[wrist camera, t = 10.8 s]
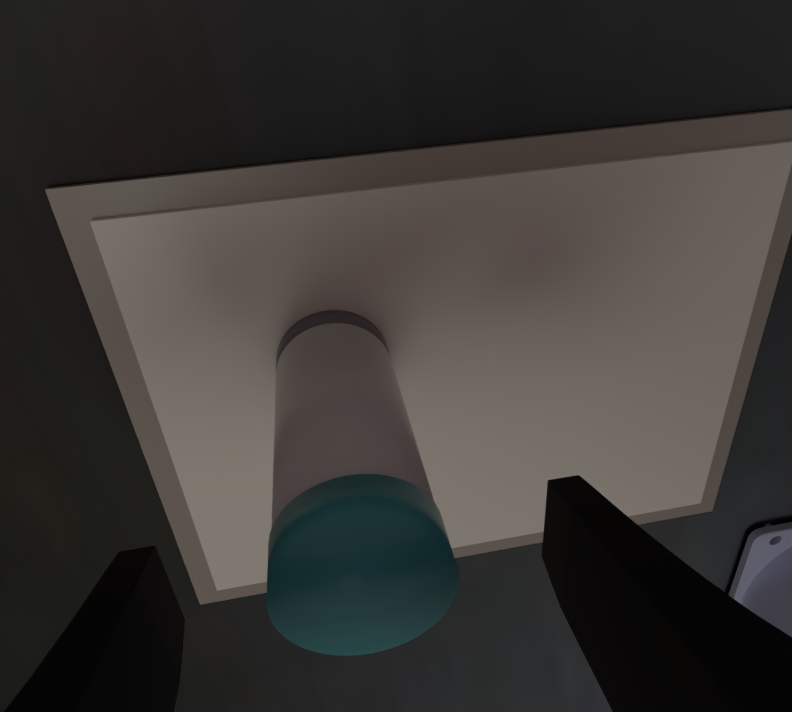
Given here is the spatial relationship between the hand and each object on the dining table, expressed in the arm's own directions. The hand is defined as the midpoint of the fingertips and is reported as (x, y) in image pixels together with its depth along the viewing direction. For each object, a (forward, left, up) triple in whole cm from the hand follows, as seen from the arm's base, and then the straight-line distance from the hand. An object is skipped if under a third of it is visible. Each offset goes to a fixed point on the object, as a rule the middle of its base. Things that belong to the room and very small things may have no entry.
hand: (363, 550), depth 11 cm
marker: (0, 0, -7) cm, 7 cm away
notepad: (-4, +2, -7) cm, 9 cm away
